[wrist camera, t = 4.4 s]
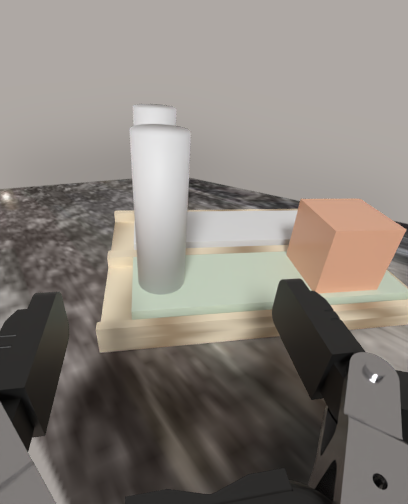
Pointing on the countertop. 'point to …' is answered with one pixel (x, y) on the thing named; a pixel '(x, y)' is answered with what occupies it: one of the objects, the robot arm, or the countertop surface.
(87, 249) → the countertop surface
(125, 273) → the board
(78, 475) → the countertop surface
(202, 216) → the strip
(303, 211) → the cube
